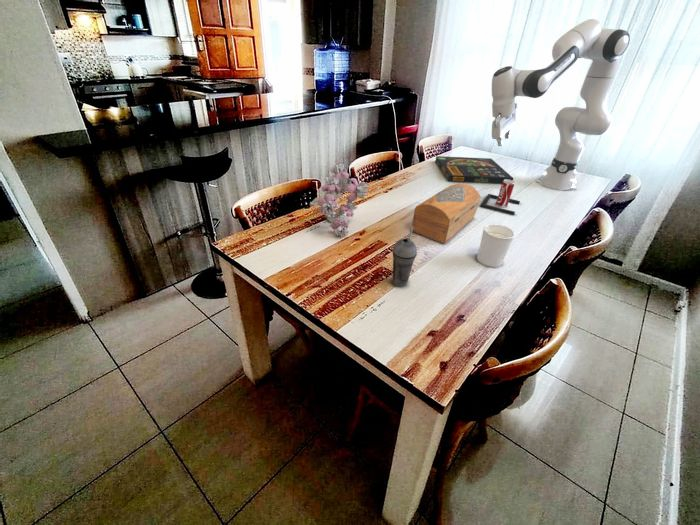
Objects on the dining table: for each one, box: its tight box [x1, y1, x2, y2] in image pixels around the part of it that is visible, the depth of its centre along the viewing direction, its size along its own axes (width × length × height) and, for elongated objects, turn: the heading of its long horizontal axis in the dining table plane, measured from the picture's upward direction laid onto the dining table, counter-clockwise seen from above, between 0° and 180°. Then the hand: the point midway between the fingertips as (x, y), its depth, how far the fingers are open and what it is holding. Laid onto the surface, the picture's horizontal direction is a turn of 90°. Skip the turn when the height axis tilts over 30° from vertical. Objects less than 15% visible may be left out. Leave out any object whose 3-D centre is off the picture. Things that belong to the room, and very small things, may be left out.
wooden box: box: [411, 182, 482, 244], centre depth 133 cm, size 30×16×14 cm, turn 140°
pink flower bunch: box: [309, 162, 372, 239], centre depth 126 cm, size 20×22×25 cm
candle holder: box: [476, 223, 516, 268], centre depth 112 cm, size 10×10×12 cm
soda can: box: [495, 179, 515, 208], centre depth 152 cm, size 5×5×12 cm
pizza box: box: [434, 155, 514, 185], centre depth 193 cm, size 35×35×4 cm
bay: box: [479, 193, 521, 216], centre depth 155 cm, size 16×15×1 cm
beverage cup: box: [392, 226, 418, 288], centre depth 97 cm, size 7×7×20 cm
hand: (503, 141), depth 149 cm, fingers open, 8 cm apart
